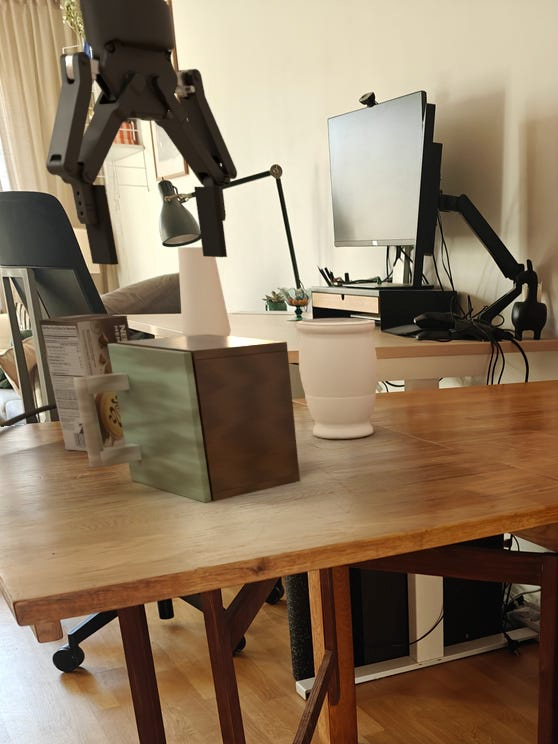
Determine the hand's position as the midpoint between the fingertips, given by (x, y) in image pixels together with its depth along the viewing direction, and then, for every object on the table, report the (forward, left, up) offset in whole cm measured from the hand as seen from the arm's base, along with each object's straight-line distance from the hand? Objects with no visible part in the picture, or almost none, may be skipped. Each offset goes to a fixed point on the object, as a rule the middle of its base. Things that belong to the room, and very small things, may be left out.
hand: (163, 260), depth 85 cm
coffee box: (-27, -10, -23) cm, 37 cm away
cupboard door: (+3, -5, -23) cm, 23 cm away
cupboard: (-1, +3, -23) cm, 23 cm away
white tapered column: (-39, +5, -23) cm, 46 cm away
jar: (-23, +21, -23) cm, 38 cm away
